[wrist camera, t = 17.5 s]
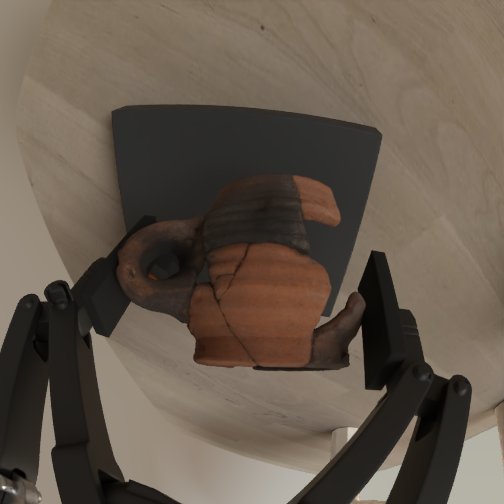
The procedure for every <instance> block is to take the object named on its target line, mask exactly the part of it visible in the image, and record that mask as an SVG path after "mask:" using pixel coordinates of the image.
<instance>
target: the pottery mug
mask: <svg viewBox="0 0 504 504" xmlns="http://www.w3.org/2000/svg"><path fill="white" fill-rule="evenodd" d="M302 219H304V220H313V221H316V222H321V223H323V224H326V225H329V226H331V227H335V226H337V225H338V224H339V223H340V220H341V218H340V212H339V209H338V207H337V205H336V202H335V199H334V197H333V193H332V190H331V189H330V187H328V186H326V185H324V184H323V183H321V182H319V181H316V180H313V179H311V178H308V177H302V176H298V175H290V174H282V173H276V174H273V173H263V174H258V175H250V176H247V177H243V178H240V179H238V180H236V181H234V182H233V183H231V184H229V185H227V186H226V187H225V188H223V189H222V190H221V191H220V192H219V194H218V196H217V198H216V199H215V201H214V202H213V204H212V205H211V206H210V208H209V209H208V212H207V213H206V214H205V215H204V216H203V218H201V216H200V215H198V216H196V217H194V218H192V219H188V220H169V221H162V222H158V223H154V224H152V225H149V226H147V227H145V228H143V229H141V230H139V231H137V232H136V233H134V234H133V235H132V236H131V237H130V238H129V239H127V241H126V242H125V243H124V245H123V247H122V248H121V249H120V250H119V251H118V260H119V265H118V267H117V269H116V273H117V278H118V281H119V283H120V285H121V288H122V289H123V291H124V293H125V294H126V296H127V297H128V298H129V299H130V300H131V301H132V302H133V303H135V304H136V305H138V306H140V307H142V308H145V309H147V310H151V311H155V312H161V313H165V314H169V315H171V316H173V317H175V318H176V319H178V320H179V321H180V322H182V323H187V324H188V325H187V327H188V329H189V331H190V333H191V334H192V335H193V336H194V337H195V339H196V347H195V354H194V357H193V359H194V361H195V362H196V363H198V364H202V365H207V366H217V367H227V368H233V367H235V366H244V367H253V369H254V370H263V371H321V370H322V371H324V370H339V369H341V368H344V367H348V366H349V365H350V363H349V354H348V345H349V344H350V342H351V341H352V339H353V338H354V337H355V336H356V335H357V332H358V330H359V328H360V326H361V323H362V318H363V312H364V310H365V307H366V304H365V301H364V299H363V298H362V296H361V294H360V293H358V292H353V293H352V294H351V295H350V296H349V298H348V301H347V303H346V306H345V308H344V309H343V310H341V311H340V312H339V313H338V315H337V316H335V317H334V318H333V319H332V320H330V321H329V322H327V323H325V324H323V325H321V326H320V327H318V328H316V329H314V328H315V327H316V326H317V324H318V322H319V321H320V316H321V314H322V312H323V311H324V308H325V306H326V303H327V300H328V298H329V295H330V292H331V288H332V287H331V285H330V282H329V276H328V274H327V272H326V270H325V268H324V267H323V266H322V265H320V264H319V263H318V262H316V261H315V260H313V259H311V258H310V257H309V255H310V253H311V250H310V245H309V241H308V237H307V235H306V230H305V225H304V222H303V220H302ZM165 253H172V254H174V255H176V257H177V258H178V261H179V269H180V271H179V272H177V273H175V274H173V275H171V276H170V277H168V278H166V279H163V280H156V279H152V278H150V277H149V276H148V274H147V272H146V268H147V266H148V265H149V264H150V263H151V262H152V261H153V260H154V259H155V258H157V257H159V256H161V255H162V254H165ZM206 262H207V266H208V274H209V278H210V280H211V281H210V282H202V283H199V284H198V285H197V283H196V281H197V278H198V276H199V274H200V273H201V271H202V269H203V267H204V265H205V263H206Z"/></svg>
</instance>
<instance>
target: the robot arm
mask: <svg viewBox="0 0 504 504" xmlns="http://www.w3.org/2000/svg"><path fill="white" fill-rule="evenodd" d="M154 223H157V221H156V216H149V215H144V216H143V217H142V218H141V219H140V220H139V221H138V222H137V223H136V224H135V226H134V227H133V228H132V229H131V230H130V231H129V232H128V233H127V235H126V236H125V237H124V238H123V239H122V240H121V241H120V243H119V244H118V245H117V246H116V247H115V248H114V250H113V251H112V252H111V253H110V254H109V255H108V257H107V258H102V257H101V258H99V259H98V260H96V261H95V262H93V263H92V264H91V266H90V267H89V268H88V270H86V272H85V273H84V274H83V276H81V278H80V279H79V280H78V281H77V283H76V284H75V285H74V286H73V288H72V289H71V290H70V288H69V285H68V283H67V282H66V281H62V280H58V281H54V282H52V283H51V284H49V285H48V286H47V287H46V288H45V290H44V295H45V297H46V299H47V301H48V302H40V300H39V298H38V296H37V295H35V294H28V295H26V296H24V297H23V298H22V299H20V301H19V303H18V305H17V307H16V310H15V312H14V315H13V317H12V320H11V323H10V325H9V328H8V331H7V334H6V337H5V339H4V342H3V345H2V349H1V352H0V504H38V503H40V502H41V499H42V496H41V494H40V492H39V491H38V490H37V488H36V486H35V484H36V480H37V475H38V468H39V453H40V440H41V429H42V420H43V412H44V404H45V398H46V392H47V386H48V380H50V381H49V382H50V397H51V408H52V418H53V426H54V433H55V440H56V445H55V447H54V448H53V449H52V452H51V456H52V463H53V468H54V473H55V478H56V482H57V486H58V490H59V494H60V498H61V502H62V504H181V503H179V502H177V501H176V500H174V499H172V498H170V497H169V496H167V495H165V494H163V493H161V492H160V491H158V490H156V489H154V488H151V487H148V486H146V485H143V484H140V483H138V482H135V481H133V480H129V482H125V480H124V477H123V474H122V472H121V470H120V468H119V466H118V465H117V463H116V461H115V458H114V455H113V451H112V448H111V444H110V440H109V436H108V432H107V428H106V424H105V419H104V414H103V410H102V405H101V400H100V395H99V389H98V383H97V377H96V371H95V364H94V356H93V349H92V340H91V334H90V332H89V331H90V329H91V328H92V326H93V328H94V329H95V332H96V333H97V334H99V335H102V336H105V337H108V338H109V337H110V335H111V333H112V332H113V330H114V328H115V327H116V325H117V323H118V322H119V320H120V318H121V317H122V315H123V313H124V312H125V310H126V309H127V307H128V305H129V304H130V302H131V300H130V299H129V298H128V297H127V296H126V294H125V293H124V291H123V289H122V288H121V285H120V283H119V281H118V278H117V273H116V269H117V267H118V265H119V260H118V251H119V250H120V249H121V248H122V247H123V245H124V243H125V242H126V241H127V239H129V238H130V237H131V236H132V235H133V234H134V233H136V232H137V231H139V230H141V229H143V228H145V227H147V226H149V225H152V224H154ZM159 258H160V256H159V257H157V258H155V259H154V260H153V261H152V262H151V263H150V264H149V265H148V266H147V268H146V272H147V274H149V273H150V271H151V270H152V268H153V267H154V265H155V264H156V262H157V261H158V259H159ZM358 293H360V294H361V296H362V298H363V299H364V301H365V304H366V307H365V310H364V312H363V318H362V323H361V326H362V338H363V352H364V370H365V389H366V390H382V388H383V387H384V386H385V385H386V388H387V392H386V393H385V395H384V396H383V397H382V398H381V399H380V400H379V401H378V402H377V403H378V404H377V405H376V407H375V408H374V409H373V411H372V412H371V413H370V415H369V416H368V417H367V419H366V420H365V421H364V422H363V424H362V425H361V426H360V427H359V429H358V430H357V431H356V432H355V434H354V435H353V436H352V437H351V438H350V440H349V441H348V442H347V443H346V444H345V445H344V446H343V448H342V449H341V450H340V451H339V452H338V453H337V454H336V456H335V457H334V458H333V459H332V460H331V461H330V462H329V463H328V464H327V465H326V466H325V467H324V468H323V469H322V471H321V472H320V473H319V474H318V475H317V476H316V477H315V478H314V479H313V480H312V481H311V482H310V483H309V484H308V485H307V486H306V487H305V488H304V489H303V490H302V491H300V492H299V493H298V494H297V495H296V496H295V497H294V498H293V499H292V500H291V501H289V502H288V503H287V504H350V503H351V502H352V501H353V500H354V498H355V497H356V496H357V495H358V494H359V493H360V491H361V490H362V489H363V488H364V487H365V485H366V484H367V483H368V482H369V480H370V479H371V478H372V477H373V475H374V474H375V473H376V471H377V470H378V469H379V467H380V466H381V465H382V463H383V462H384V461H385V459H386V458H387V456H388V455H389V454H390V452H391V451H392V449H393V448H394V446H395V445H396V443H397V442H398V440H399V439H400V437H401V436H402V434H403V433H404V431H405V430H406V428H407V426H408V425H409V423H410V422H411V420H412V418H413V417H414V415H416V416H418V418H417V421H416V425H415V428H414V431H413V434H412V437H411V440H410V443H409V446H408V449H407V452H406V455H405V458H404V460H403V463H402V466H401V468H400V471H399V473H398V476H397V478H396V481H395V483H394V486H393V488H392V490H391V492H390V495H389V497H388V499H387V501H386V503H385V504H447V501H448V498H449V495H450V492H451V489H452V486H453V482H454V479H455V476H456V472H457V468H458V465H459V461H460V457H461V452H462V448H463V443H464V438H465V433H466V428H467V422H468V416H469V410H470V402H471V394H472V387H471V384H470V382H469V381H468V380H467V378H465V377H464V376H462V375H454V376H453V377H452V378H451V379H450V380H448V379H445V378H443V377H440V376H437V375H435V374H434V372H433V370H432V368H431V366H430V365H428V364H427V363H426V362H425V361H424V356H423V351H422V346H421V342H420V337H419V333H418V329H417V324H416V320H415V318H414V316H413V315H412V313H411V312H410V310H406V309H399V307H398V302H397V298H396V294H395V289H394V285H393V281H392V277H391V274H390V270H389V266H388V262H387V259H386V255H385V253H384V252H378V251H373V250H372V251H371V254H370V257H369V259H368V262H367V265H366V268H365V271H364V273H363V276H362V279H361V281H360V284H359V286H358Z"/></svg>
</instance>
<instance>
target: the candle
mask: <svg viewBox="0 0 504 504" xmlns="http://www.w3.org/2000/svg"><path fill="white" fill-rule="evenodd" d="M495 415H496V420H497V426H498V431H499V438H500V444H501V451H502V460H503V470H504V401H503V402H502V403H500V404H499V405H498V406H497V407H496V408H495Z"/></svg>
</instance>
